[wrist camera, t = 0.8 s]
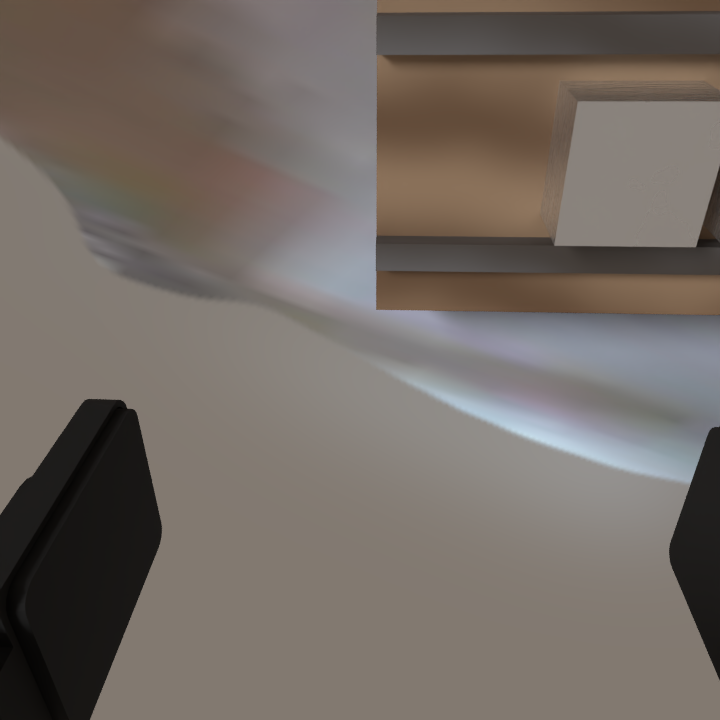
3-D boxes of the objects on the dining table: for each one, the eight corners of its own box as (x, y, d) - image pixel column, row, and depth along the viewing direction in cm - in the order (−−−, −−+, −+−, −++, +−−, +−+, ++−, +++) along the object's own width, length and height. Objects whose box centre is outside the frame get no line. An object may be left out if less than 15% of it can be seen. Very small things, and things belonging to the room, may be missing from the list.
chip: (559, 80, 24) (577, 101, 22) (703, 80, 24) (738, 101, 21) (540, 213, 27) (554, 245, 24) (668, 215, 27) (695, 247, 24)
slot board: (381, -73, 26) (376, -66, 21) (922, -79, 25) (1045, -73, 20) (379, 259, 34) (375, 318, 29) (790, 264, 33) (856, 326, 28)
